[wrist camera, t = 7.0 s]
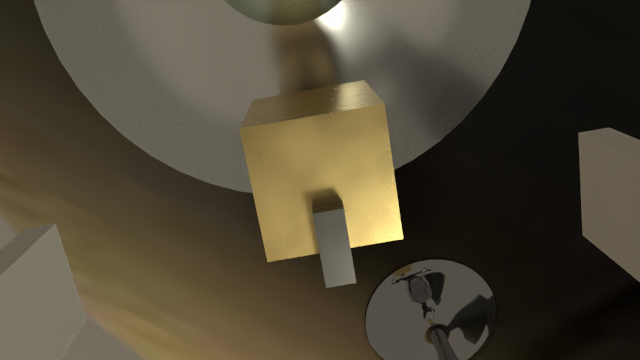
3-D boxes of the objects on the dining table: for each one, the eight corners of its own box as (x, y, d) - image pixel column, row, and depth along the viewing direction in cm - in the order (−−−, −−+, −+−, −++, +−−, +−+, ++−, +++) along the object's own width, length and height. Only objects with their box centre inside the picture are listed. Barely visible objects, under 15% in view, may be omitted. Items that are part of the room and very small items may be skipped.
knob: (257, 90, 27) (236, 133, 18) (358, 73, 27) (388, 107, 18) (280, 205, 28) (271, 297, 19) (375, 188, 28) (411, 273, 19)
